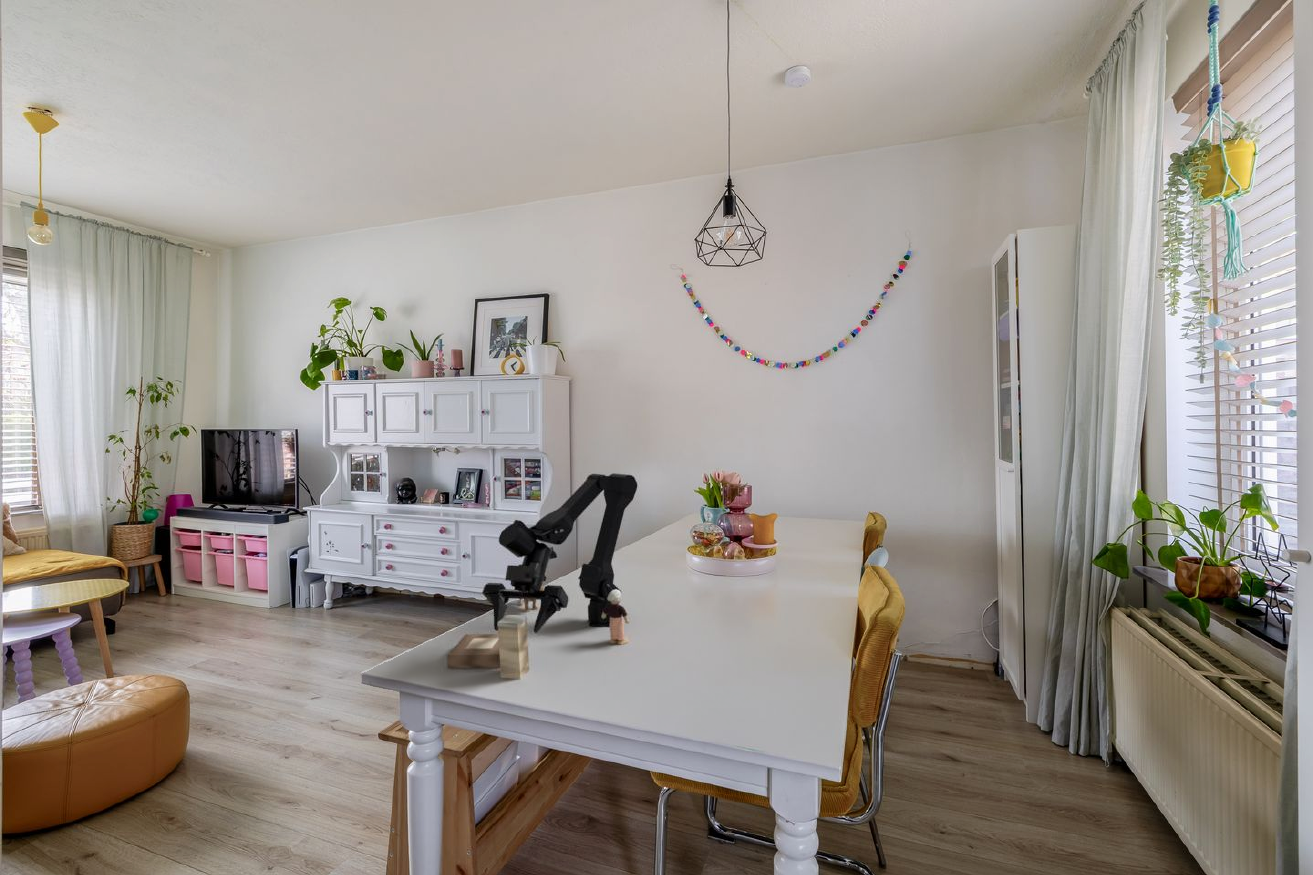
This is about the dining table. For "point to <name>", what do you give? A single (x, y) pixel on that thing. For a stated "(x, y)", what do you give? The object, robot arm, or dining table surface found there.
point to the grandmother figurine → (616, 617)
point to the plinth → (475, 652)
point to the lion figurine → (531, 601)
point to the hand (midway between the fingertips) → (515, 631)
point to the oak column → (513, 646)
